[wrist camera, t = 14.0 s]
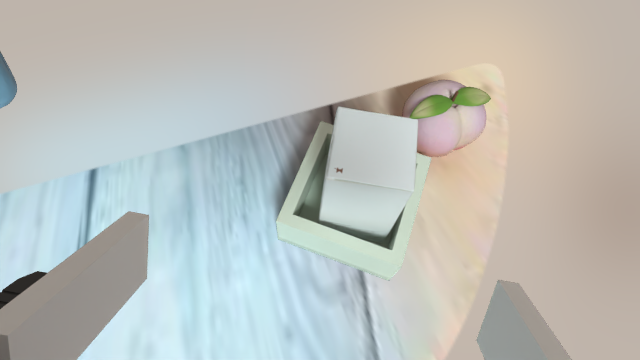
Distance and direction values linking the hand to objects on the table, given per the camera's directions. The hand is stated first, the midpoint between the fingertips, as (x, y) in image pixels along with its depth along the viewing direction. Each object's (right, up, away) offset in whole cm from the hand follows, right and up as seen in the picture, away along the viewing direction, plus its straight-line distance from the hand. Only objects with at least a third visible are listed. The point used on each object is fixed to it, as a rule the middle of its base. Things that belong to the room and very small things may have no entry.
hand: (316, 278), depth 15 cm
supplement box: (+4, +1, +30) cm, 30 cm away
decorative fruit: (+13, +8, +35) cm, 39 cm away
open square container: (+4, 0, +31) cm, 31 cm away
